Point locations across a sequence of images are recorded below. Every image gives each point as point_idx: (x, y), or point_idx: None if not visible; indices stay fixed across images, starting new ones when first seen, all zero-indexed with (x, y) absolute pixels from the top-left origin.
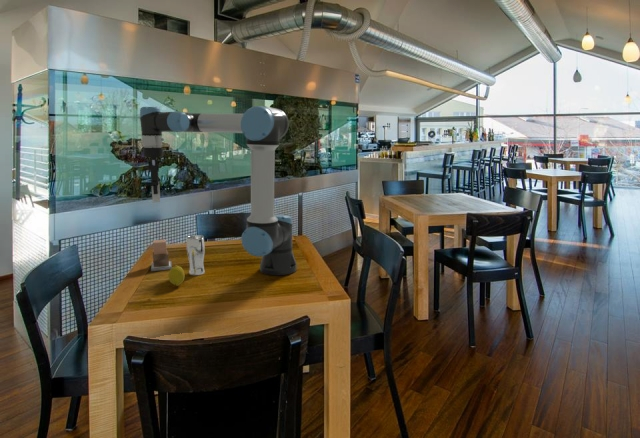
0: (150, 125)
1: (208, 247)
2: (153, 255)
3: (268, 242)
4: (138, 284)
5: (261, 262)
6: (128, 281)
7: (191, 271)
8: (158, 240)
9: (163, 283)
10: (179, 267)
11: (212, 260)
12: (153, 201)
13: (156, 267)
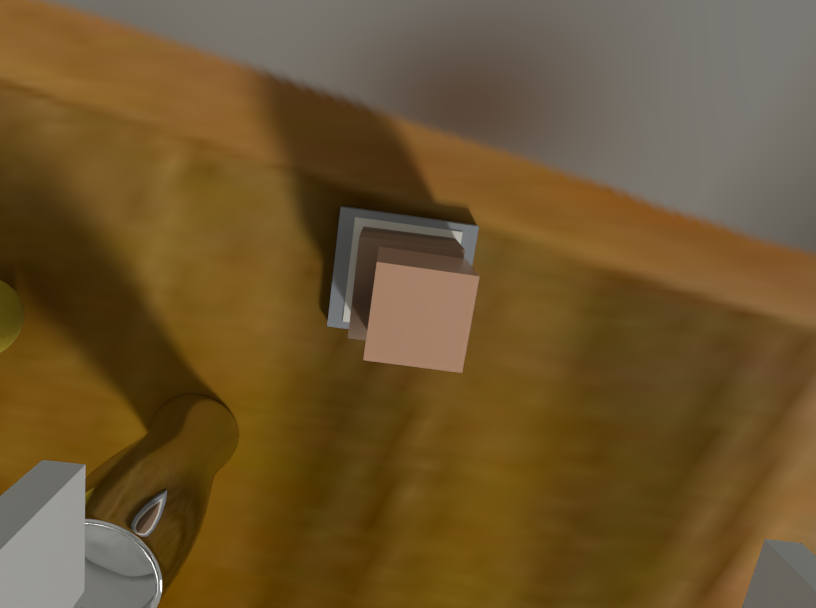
0: None
1: (684, 583)
2: (361, 241)
3: None
4: (112, 107)
5: None
6: (193, 55)
7: (165, 410)
8: (448, 314)
9: (79, 241)
10: None
11: (398, 547)
12: (28, 486)
13: (352, 241)
